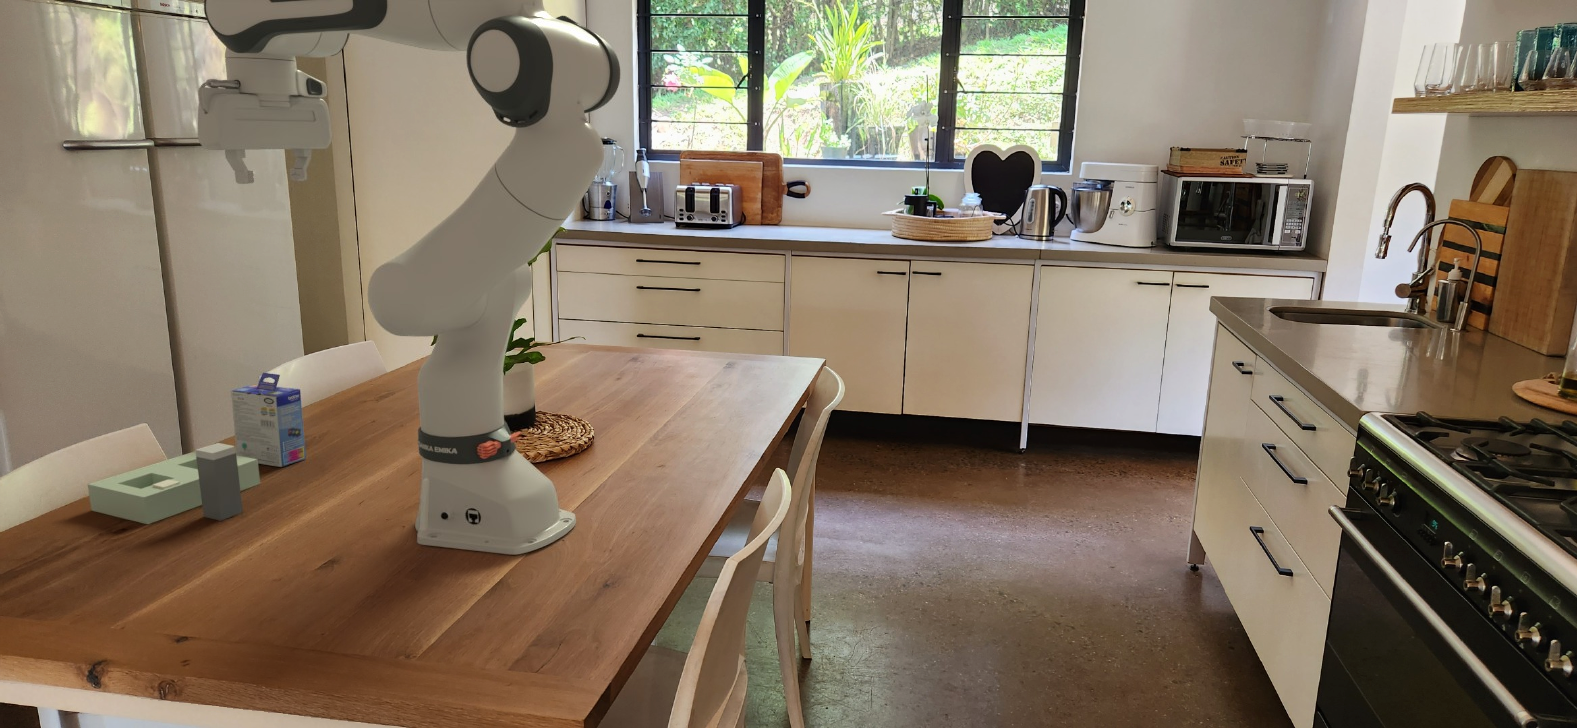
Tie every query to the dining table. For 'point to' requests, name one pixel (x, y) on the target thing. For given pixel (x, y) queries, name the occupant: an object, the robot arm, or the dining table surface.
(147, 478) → the socket board
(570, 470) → the dining table surface
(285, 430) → the ink cartridge box
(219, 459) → the plug
